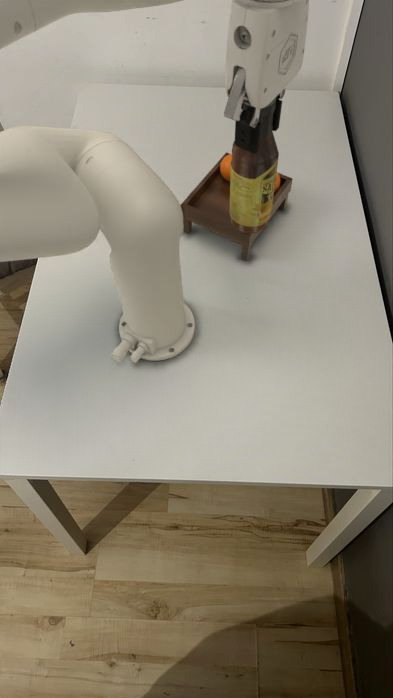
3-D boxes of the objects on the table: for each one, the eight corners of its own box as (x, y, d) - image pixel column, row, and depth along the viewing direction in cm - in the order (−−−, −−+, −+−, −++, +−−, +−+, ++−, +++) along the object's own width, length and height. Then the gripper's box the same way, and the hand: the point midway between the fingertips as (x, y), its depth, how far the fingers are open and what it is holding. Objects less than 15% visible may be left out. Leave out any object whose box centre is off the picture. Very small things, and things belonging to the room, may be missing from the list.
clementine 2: (270, 204, 90) (273, 184, 86) (247, 195, 92) (249, 174, 87) (283, 188, 92) (286, 167, 88) (260, 179, 93) (262, 158, 89)
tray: (247, 262, 90) (249, 235, 84) (182, 232, 94) (180, 205, 88) (287, 206, 97) (292, 178, 91) (225, 181, 101) (226, 152, 94)
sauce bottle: (266, 238, 74) (281, 121, 56) (225, 232, 75) (227, 114, 57) (273, 206, 77) (290, 85, 59) (234, 200, 78) (238, 79, 60)
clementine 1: (237, 190, 92) (238, 169, 88) (215, 181, 94) (215, 160, 89) (250, 174, 94) (251, 153, 90) (228, 166, 95) (228, 144, 91)
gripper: (260, 24, 43) (247, 188, 59) (347, -56, 49) (314, 111, 65) (188, 0, 45) (194, 165, 61) (280, -74, 52) (264, 92, 68)
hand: (256, 136), depth 63 cm, fingers closed on sauce bottle, 4 cm apart
